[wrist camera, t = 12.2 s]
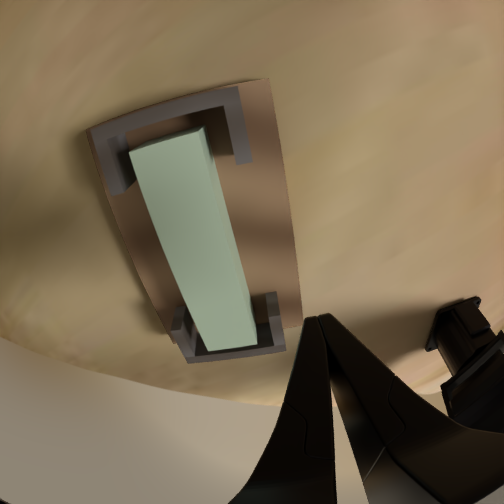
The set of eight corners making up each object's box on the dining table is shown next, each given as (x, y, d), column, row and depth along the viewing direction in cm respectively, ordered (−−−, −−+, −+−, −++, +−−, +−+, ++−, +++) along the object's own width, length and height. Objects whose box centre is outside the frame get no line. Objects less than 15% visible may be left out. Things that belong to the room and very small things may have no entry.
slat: (255, 314, 22) (257, 344, 19) (210, 321, 22) (208, 351, 20) (205, 124, 15) (197, 131, 12) (146, 141, 15) (128, 152, 12)
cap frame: (301, 314, 24) (309, 348, 21) (175, 333, 24) (169, 366, 21) (266, 79, 15) (274, 75, 11) (93, 126, 15) (64, 137, 12)
